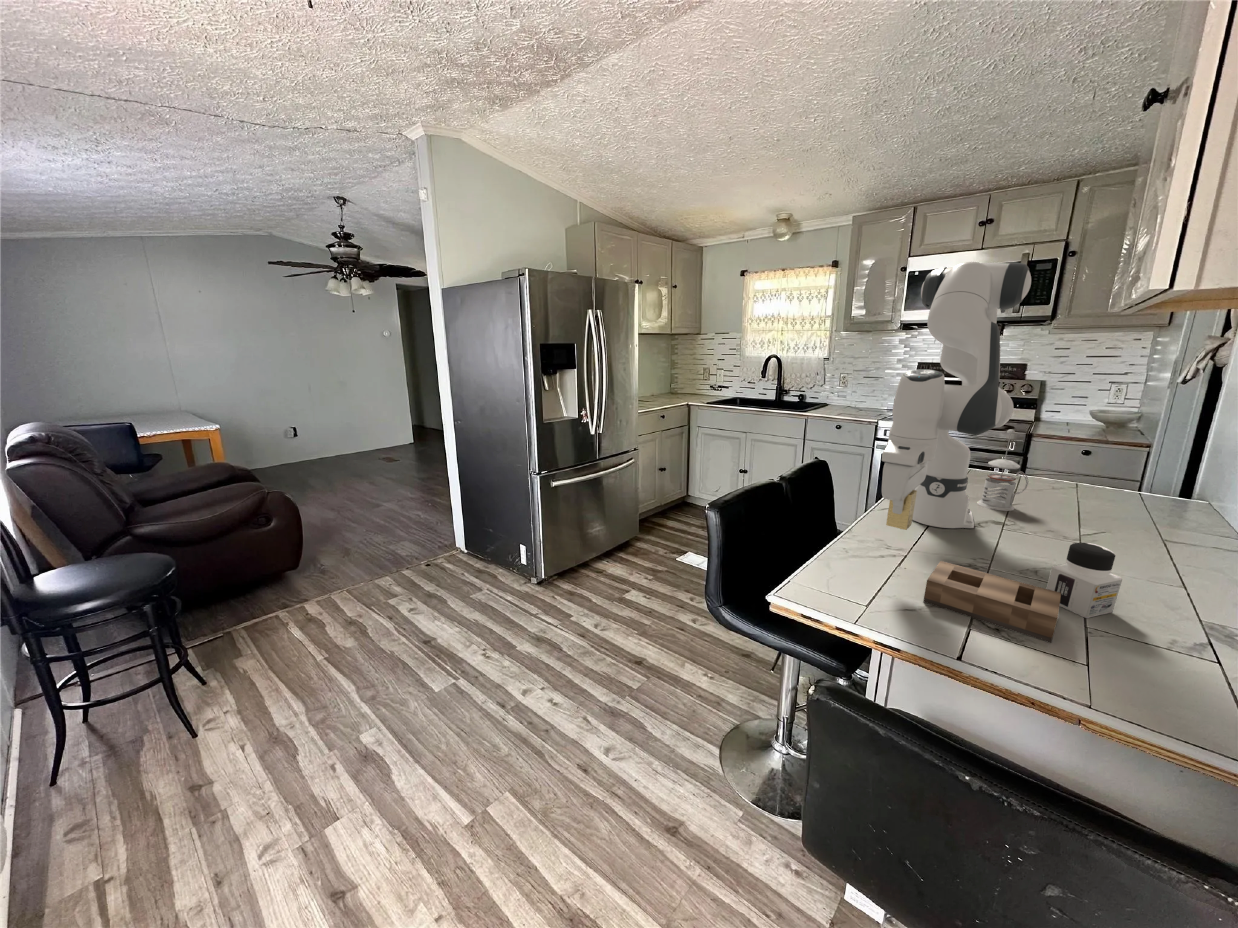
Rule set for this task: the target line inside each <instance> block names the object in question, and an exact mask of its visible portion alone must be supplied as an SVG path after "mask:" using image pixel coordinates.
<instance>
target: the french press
mask: <svg viewBox="0 0 1238 928" xmlns="http://www.w3.org/2000/svg"><path fill="white" fill-rule="evenodd" d="M1015 432H1016V431H1015V430H1014V429H1008V430H1006V433H1007V434H1009V438H1008V442H1007V445H1006V452H1005V457H1004V458H1003V459H1001V458H997V459H993V460H991V461H988V463H987V464H988V465H989V466H990V467H994V468H998V469H1002V470H1001V471H1002V472H1001V473H988V474H987V478H985V481H984V486H983V491H982V495H981V499H979V500H978V501H977V502H976V504H978V506H981V507H983V508H987V509H990V510H996V511H1004V512H1007V511H1008V512H1011V511H1012V512H1013V511H1014V510H1015V507H1014V506H1013V501H1014V498H1015V495H1020V494H1022V493H1023V492H1025V491H1026V490H1027V487H1028V485H1029V478H1028V475H1027V474H1026V473H1024V472H1023V471H1021V470H1019V469H1020V468H1021V465H1020V464H1018V463H1017V462H1015V461H1013V460H1009V459H1007V454H1008V449H1009V445H1010V441H1011V435H1012V434H1013V435H1014V434H1015ZM1004 469H1005V470H1019V471H1017V472H1016V476H1017V477H1018V476H1019V475H1020V474H1021V475H1022V476H1023V477H1024V480H1025V486H1024V488H1023V489H1022V490H1021V491H1017V492H1015V489H1016V484H1017V483H1016V482H1015V481H1016V478H1015V477H1014V476H1011V475H1007V474H1003V472H1004ZM1003 483H1004V484H1003ZM995 492H996V493H995ZM1014 492H1015V493H1014Z"/></svg>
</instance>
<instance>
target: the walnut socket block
mask: <svg viewBox="0 0 1238 928" xmlns="http://www.w3.org/2000/svg"><path fill="white" fill-rule="evenodd" d="M925 585H926V586H925V589H924V594H923V595H924V596H923V603H926V604H928V605H932V606H935V607H938V608H941V609H945V610H947V611H949V612H954V613H957V614H959V615H963V616H967V617H969V618H973V619H975V620H978V621H982V622H985V623H987V624H991V625H994V626H997V627H1000V628H1003V629H1006V630H1010V631H1013V632H1014V633H1015V632H1016V633H1019V634H1022V635H1025V636H1029V637H1031V638H1035V639H1038V640H1041V641H1043V642H1047V643H1049V644H1051V643H1052V642H1053V641H1052V640H1053V637H1054V634H1055V629H1056V626H1057V622H1058V617H1059V610H1060V606H1059V605H1060V598H1061V593H1060V592H1056V591H1052V590H1048V589H1046V588H1044V587H1041V586H1040V587H1039V586H1036V585H1034V584H1029V583H1025V582H1021V581H1017V580H1014V579H1009V578H1006V577H1003V576H999V575H995V574H991V573H989V572H988V573H987V572H985V571H980V570H977V569H972V568H969V567H964V566H961V565H957V564H954V563H950V562H946V561H943V560H940V561H939V562H938V564H937V565H936V567H935V568H934V570H933V571H931V573H930V575H929V576H928V578H927V579H926V584H925Z"/></svg>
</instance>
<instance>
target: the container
mask: <svg viewBox="0 0 1238 928" xmlns="http://www.w3.org/2000/svg"><path fill="white" fill-rule="evenodd" d="M1115 559H1116V554H1115V552H1114V551H1112V550H1111V549H1109V548H1107V547H1105V546H1103V545H1099V544H1095V543H1092V542H1091V543H1090V542H1075V543H1072V544H1070V545H1069V547H1068V551H1067V556H1066V559H1065V563H1060V564H1055V565H1052V566H1051V569H1050V572H1049V576H1048V580H1047V584H1046V588H1045V589H1048V590H1052V591H1056V592H1060V593H1061V598H1060V605H1059V607H1060V608H1063V609H1065V610H1067V611H1069V612H1071V613H1074V614H1076V615H1078V616H1081V617H1083V618H1085V619H1089V618H1092V617H1098V616H1101V615H1106V614H1110V613H1113V612H1114V610H1115V606H1116V603H1117V600H1118V596H1119V593H1120V589H1121V586H1122V585H1121V584H1122V582H1123V578H1122V576H1119V575H1116V574H1113V573H1112V570H1113V565H1114V564H1115V563H1114V562H1115Z"/></svg>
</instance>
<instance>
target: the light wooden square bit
mask: <svg viewBox="0 0 1238 928" xmlns="http://www.w3.org/2000/svg"><path fill="white" fill-rule="evenodd" d="M916 494H917V491H916V490H913V491H912V492H911V493H910V494H909V495H907V496H906V497H905V499H904V510H903V512H902V513H901V514H896V513H893V511H892V510H893V501H892V500H889V503H888V511H887V516H886V523H885V525H886V527H887V526H888V527H892V528H896V529H900V530H905V531H907V530H908V529H909V528H910V527H911V526H912V524H913V520H912V518H913V512H914V506H915V500H916Z"/></svg>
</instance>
